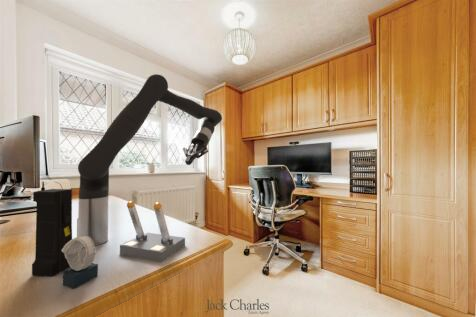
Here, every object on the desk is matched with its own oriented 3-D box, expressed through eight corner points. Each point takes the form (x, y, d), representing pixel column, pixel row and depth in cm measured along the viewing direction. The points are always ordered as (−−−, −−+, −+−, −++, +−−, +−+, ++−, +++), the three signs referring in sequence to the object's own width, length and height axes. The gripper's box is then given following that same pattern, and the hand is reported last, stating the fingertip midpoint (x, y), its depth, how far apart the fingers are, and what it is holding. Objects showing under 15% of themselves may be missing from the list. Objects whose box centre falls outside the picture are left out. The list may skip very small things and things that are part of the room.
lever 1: (136, 239, 68) (124, 203, 63) (141, 234, 70) (130, 199, 65) (141, 240, 67) (129, 203, 63) (146, 235, 69) (135, 200, 65)
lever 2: (161, 243, 64) (151, 205, 60) (166, 238, 66) (156, 201, 62) (167, 244, 63) (157, 205, 59) (172, 239, 65) (162, 201, 61)
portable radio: (78, 265, 57) (79, 180, 57) (56, 277, 51) (58, 182, 51) (54, 264, 57) (55, 180, 58) (30, 276, 51) (32, 182, 52)
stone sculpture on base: (82, 271, 53) (82, 231, 53) (102, 277, 50) (102, 235, 51) (57, 283, 48) (58, 239, 48) (78, 290, 45) (78, 243, 45)
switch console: (119, 254, 63) (119, 240, 64) (147, 240, 75) (147, 228, 75) (161, 262, 58) (161, 247, 58) (185, 246, 69) (185, 233, 69)
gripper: (187, 132, 93) (170, 157, 81) (211, 131, 89) (197, 156, 77) (193, 144, 98) (178, 169, 86) (216, 143, 93) (204, 169, 81)
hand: (187, 163), depth 81 cm, fingers closed
